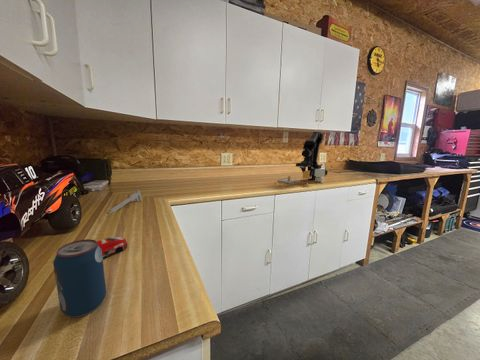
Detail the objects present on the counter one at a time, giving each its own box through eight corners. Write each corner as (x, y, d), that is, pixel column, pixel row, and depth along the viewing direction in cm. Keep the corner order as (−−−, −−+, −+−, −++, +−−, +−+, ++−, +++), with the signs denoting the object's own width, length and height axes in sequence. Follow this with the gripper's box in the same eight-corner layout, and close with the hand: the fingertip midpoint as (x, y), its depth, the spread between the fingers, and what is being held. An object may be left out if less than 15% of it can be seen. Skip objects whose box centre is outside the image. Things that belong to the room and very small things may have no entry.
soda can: (114, 292, 43) (109, 238, 40) (91, 321, 36) (83, 257, 34) (80, 291, 43) (73, 237, 40) (50, 320, 36) (39, 257, 34)
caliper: (139, 200, 106) (138, 188, 105) (141, 200, 106) (140, 188, 105) (107, 214, 86) (106, 199, 85) (110, 214, 86) (108, 199, 85)
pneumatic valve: (326, 182, 168) (328, 167, 166) (311, 181, 171) (312, 167, 168) (325, 180, 174) (326, 166, 171) (310, 179, 176) (312, 166, 173)
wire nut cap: (305, 177, 167) (306, 170, 166) (311, 178, 164) (312, 171, 163) (302, 178, 164) (303, 171, 163) (308, 178, 160) (309, 171, 159)
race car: (75, 272, 49) (72, 257, 48) (66, 264, 52) (64, 250, 51) (130, 249, 60) (129, 236, 59) (121, 243, 63) (120, 231, 62)
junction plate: (286, 179, 177) (286, 174, 176) (300, 181, 168) (300, 176, 167) (277, 181, 168) (277, 175, 167) (291, 183, 159) (291, 178, 158)
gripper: (292, 156, 162) (291, 175, 165) (315, 158, 149) (313, 179, 152) (300, 155, 169) (298, 174, 172) (322, 157, 156) (320, 177, 159)
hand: (307, 176), depth 164 cm, fingers closed on wire nut cap, 5 cm apart
